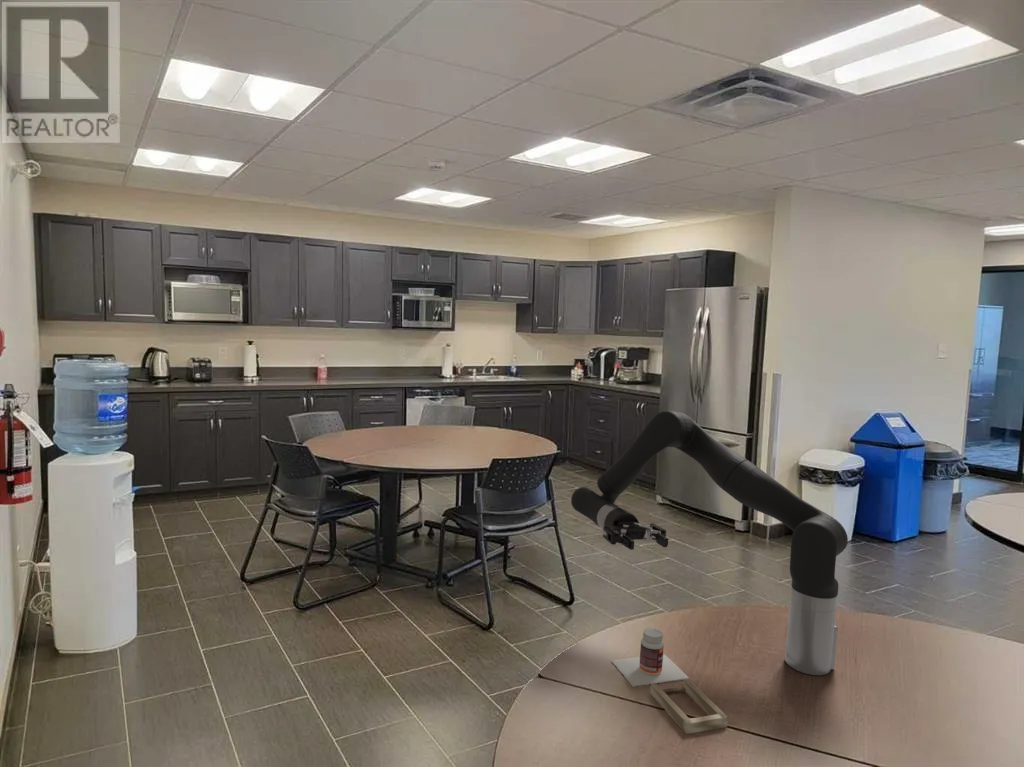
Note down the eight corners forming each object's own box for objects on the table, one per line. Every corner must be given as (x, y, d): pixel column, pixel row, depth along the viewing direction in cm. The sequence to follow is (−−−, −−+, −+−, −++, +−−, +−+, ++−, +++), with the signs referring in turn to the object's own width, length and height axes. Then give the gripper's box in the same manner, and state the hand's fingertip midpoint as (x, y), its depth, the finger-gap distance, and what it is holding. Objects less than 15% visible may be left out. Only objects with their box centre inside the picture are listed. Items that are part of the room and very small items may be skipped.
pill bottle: (662, 677, 136) (665, 639, 135) (639, 674, 137) (641, 636, 136) (661, 665, 140) (664, 628, 140) (639, 662, 141) (641, 625, 141)
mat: (664, 655, 146) (664, 653, 146) (689, 679, 136) (689, 677, 136) (611, 661, 142) (611, 660, 142) (633, 687, 132) (633, 685, 132)
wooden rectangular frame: (687, 688, 133) (688, 679, 133) (726, 727, 120) (727, 716, 120) (650, 693, 130) (651, 684, 130) (686, 734, 118) (687, 723, 118)
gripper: (592, 509, 160) (622, 530, 145) (643, 506, 165) (678, 526, 149) (590, 538, 161) (620, 562, 146) (641, 535, 165) (676, 558, 150)
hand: (649, 544), depth 147 cm, fingers open, 8 cm apart
